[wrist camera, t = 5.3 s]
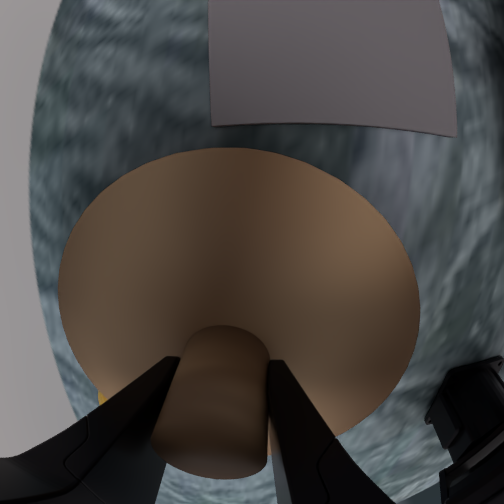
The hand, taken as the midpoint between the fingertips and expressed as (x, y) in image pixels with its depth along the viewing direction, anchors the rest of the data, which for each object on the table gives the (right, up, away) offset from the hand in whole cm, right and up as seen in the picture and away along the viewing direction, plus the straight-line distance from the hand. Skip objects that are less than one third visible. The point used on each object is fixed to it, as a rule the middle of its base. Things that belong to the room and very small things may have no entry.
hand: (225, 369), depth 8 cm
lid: (0, +1, +1) cm, 1 cm away
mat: (+5, +15, +2) cm, 16 cm away
